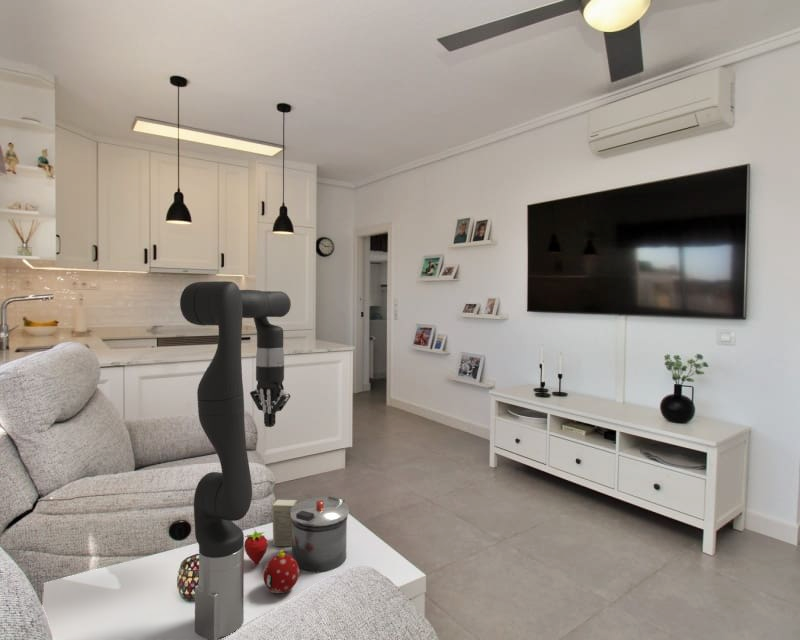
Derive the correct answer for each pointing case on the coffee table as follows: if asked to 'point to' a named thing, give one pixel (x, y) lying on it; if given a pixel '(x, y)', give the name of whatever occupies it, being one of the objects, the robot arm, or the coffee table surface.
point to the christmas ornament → (281, 573)
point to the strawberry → (256, 546)
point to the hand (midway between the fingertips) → (269, 426)
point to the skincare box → (282, 522)
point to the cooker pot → (319, 546)
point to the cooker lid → (319, 511)
